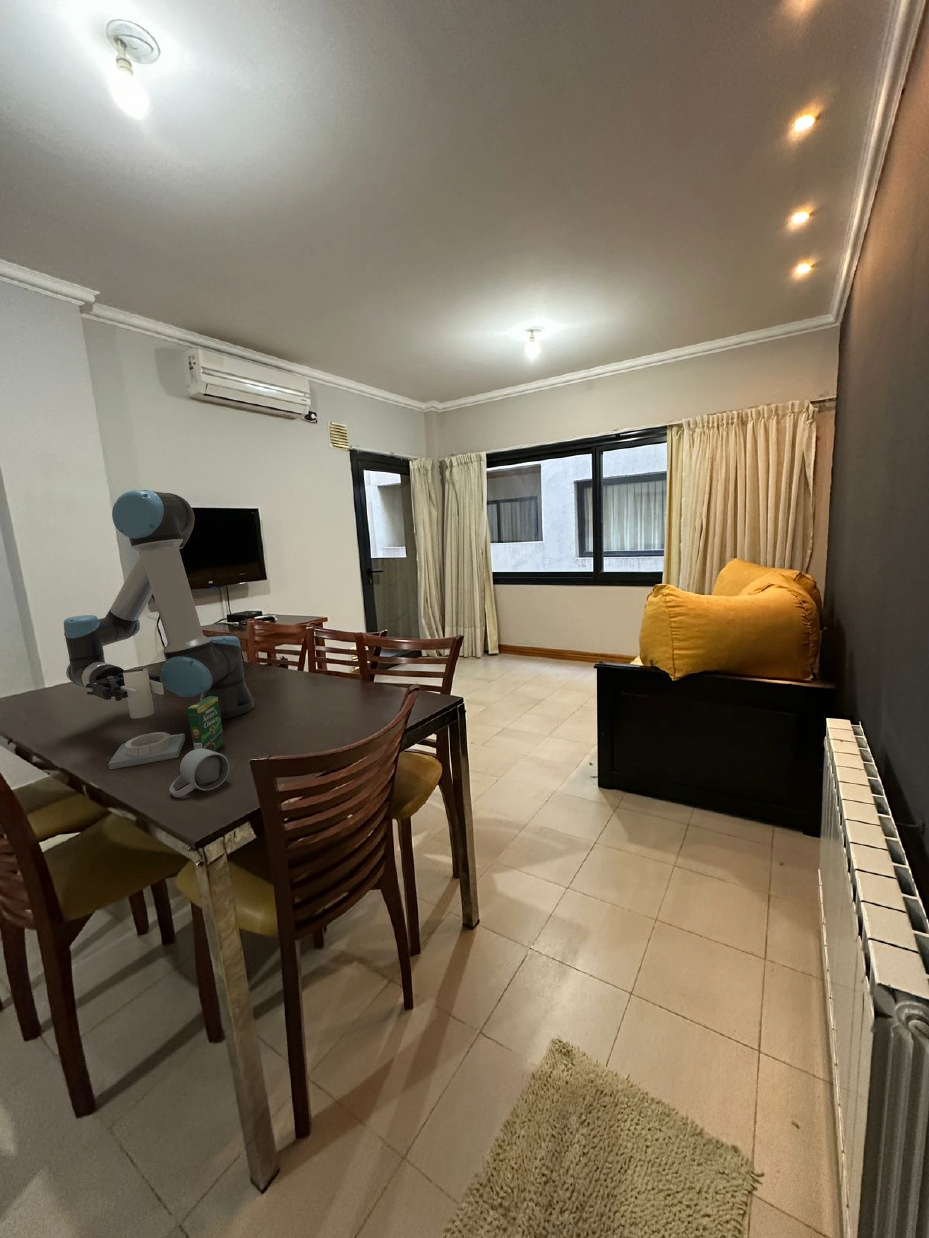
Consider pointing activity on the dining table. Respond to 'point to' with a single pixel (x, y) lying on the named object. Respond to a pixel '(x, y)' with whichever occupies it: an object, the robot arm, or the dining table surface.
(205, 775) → the ceramic mug
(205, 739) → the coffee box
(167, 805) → the dining table surface
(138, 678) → the grey cylindrical peg
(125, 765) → the hub
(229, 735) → the dining table surface
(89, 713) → the dining table surface
